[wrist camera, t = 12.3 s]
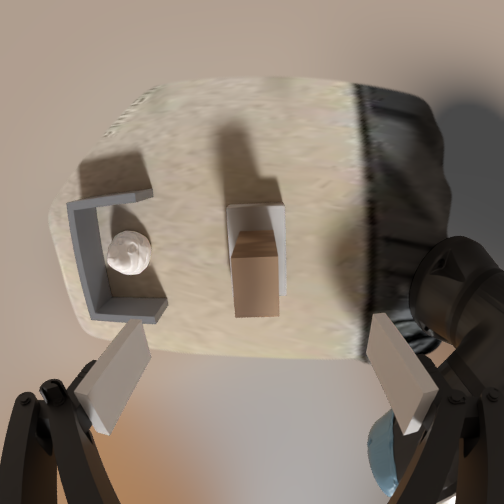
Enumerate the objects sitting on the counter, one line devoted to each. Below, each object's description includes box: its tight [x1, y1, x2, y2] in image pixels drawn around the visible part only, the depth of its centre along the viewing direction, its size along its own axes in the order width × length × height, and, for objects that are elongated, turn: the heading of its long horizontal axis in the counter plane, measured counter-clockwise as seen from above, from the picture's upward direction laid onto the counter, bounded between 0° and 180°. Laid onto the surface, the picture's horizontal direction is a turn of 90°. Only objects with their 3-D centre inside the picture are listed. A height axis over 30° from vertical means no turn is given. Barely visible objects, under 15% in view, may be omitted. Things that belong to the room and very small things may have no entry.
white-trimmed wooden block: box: [226, 202, 286, 318], centre depth 27 cm, size 6×10×12 cm, turn 3°
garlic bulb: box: [107, 231, 151, 275], centre depth 31 cm, size 6×6×5 cm
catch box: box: [66, 189, 168, 324], centre depth 31 cm, size 10×15×5 cm, turn 3°
